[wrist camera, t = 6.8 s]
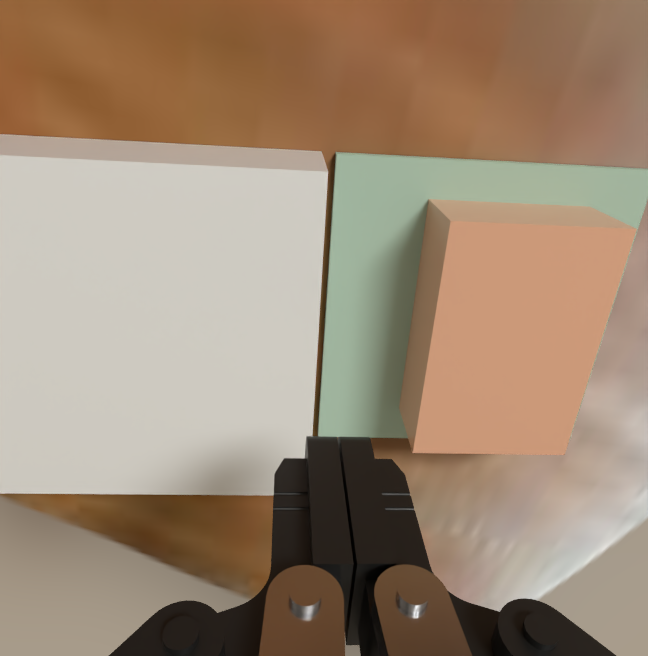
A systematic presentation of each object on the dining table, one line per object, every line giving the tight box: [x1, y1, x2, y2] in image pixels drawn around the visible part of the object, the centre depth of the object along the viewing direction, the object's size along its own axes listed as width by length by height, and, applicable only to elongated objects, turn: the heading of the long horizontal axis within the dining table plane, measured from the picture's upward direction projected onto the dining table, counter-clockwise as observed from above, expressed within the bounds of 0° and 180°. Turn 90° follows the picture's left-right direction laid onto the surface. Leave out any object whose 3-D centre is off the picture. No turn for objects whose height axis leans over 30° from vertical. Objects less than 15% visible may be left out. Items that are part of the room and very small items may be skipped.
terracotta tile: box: [399, 199, 637, 455], centre depth 20 cm, size 9×6×3 cm, turn 177°
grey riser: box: [0, 134, 328, 495], centre depth 19 cm, size 12×12×4 cm
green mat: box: [318, 152, 648, 441], centre depth 21 cm, size 12×12×1 cm
